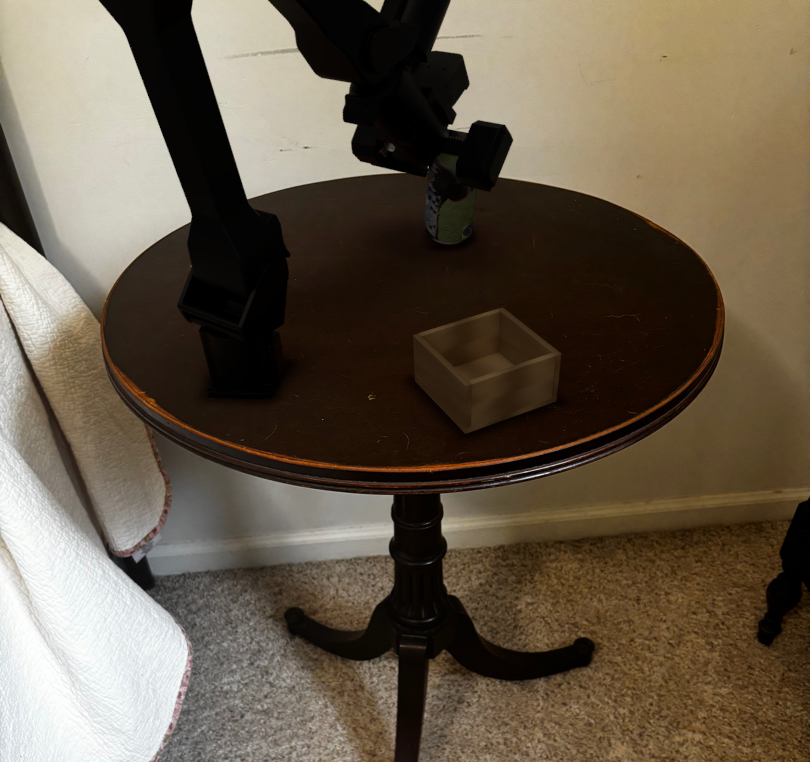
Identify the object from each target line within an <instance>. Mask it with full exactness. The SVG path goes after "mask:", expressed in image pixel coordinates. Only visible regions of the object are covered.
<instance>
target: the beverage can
mask: <svg viewBox="0 0 810 762" xmlns="http://www.w3.org/2000/svg"><path fill="white" fill-rule="evenodd" d="M457 159H458V156H454V155H449V154H444V153H441V154H440V155H439V156H438V157H436V158H435V161H434V163H433V166H432V167H428V168H429V169H428V174H427V182H426V195H425V208H424V220H423V229H424V232H425V234H426V235H427V236H428V237H429V238H431V239H432V240H433V241H435V242H436V243H439V244H442V245H457V244H460V243H461V242H463V241H466V240H468V238H470V236H471V235H472V234H473V229H474V219H475V211H476V205H477V196H478V190H479V189H475V188H471V187H467V186H463V185H462V183H463V182H461V181H459V179H458V178H457V177H456V161H457Z"/></svg>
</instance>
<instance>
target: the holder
mask: <svg viewBox="0 0 810 762" xmlns="http://www.w3.org/2000/svg"><path fill="white" fill-rule="evenodd" d="M412 344H413V365H414V366H413V368H414V382H415V384H417V385H418V387H420V389H422V390H423V392H424V393H425V394H426V395H427V396H429V398H430V399H432V401H433V402H434V403H435V404H436V405H437V406H438V407H439V408H440V410H442V412H444V414H446V415H447V417H449V419H451V421H453V423H454V424H456V426H457V427H458V428H459V429H460V430H461V431H462V432H463V433H464V434H465V435H466V434H469V433H472V432H476V431H478V430H480V429H483V428H486V427H489V426H491V425H495V424H498V423H500V422H503V421H506V420H508V419H509V420H510V419H512V418H514V417H516V416H517V417H518V416H519V415H522V414H525V413H528V412H531V411H534V410H536V409H539V408H541V407H545V406H547V405H550V404H553V403H555V402H557V400H558V391H559V381H560V371H561V361H562V353H561V351H559V350H557V349H556V348H555V347H554V346H552V345H551V344H550V343H548V341H546V340H545V339H544V338H542V337H541V336H540V335H539V334H537V333H536V332H535V331H534V330H532V329H531V328H530V327H529V326H527V325H526V324H524V323H523V322H522V321H521V320H519V319H518V318H517V317H515V316H514V314H512V313H510V312H509V311H508V310H507V309H505V308H504V307H498V308H495V309H492V310H489V311H485V312H483V313H479V314H476V315H473V316H469V317H466V318H464V319H463V318H462V319H460V320H457V321H454V322H450V323H447V324H443V325H441V326H438V327H437V326H436V327H433V328H430V329H428V330H424V331H421V332H418V333H415V334H413V335H412Z"/></svg>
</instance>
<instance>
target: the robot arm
mask: <svg viewBox="0 0 810 762" xmlns="http://www.w3.org/2000/svg"><path fill="white" fill-rule="evenodd" d="M451 1H452V0H383V3H382V5H381V8H380V11H378V10H377V9H376V8H375V7H374V6H372V5H371V4H370V3H368V2H367V1H366V0H267V2H269V3H270V4H271V5H272V6H273V7H274V9H275V10H277V12H278V13H279V14H280V15H281V16H282V17H283V18H284V19H285V20H286V21H287V22H288V24H289V25H290V27H291V28H292V30H293V31H294V38H295V45H296V48H297V50H298V51H299V53H300V54H301V56H302V57H303V59H304V60H305V61H306V63H307V65H308V66H309V67H310V69H311V70H312V72H313V73H314V74H315V75H316V76H318V77H319V78H320V79H325V80H330V81H337V82H342V83H349V88H348V93H345V95H344V105H343V108H342V121H343V123H347V124H352V125H356V127H355V130H354V132H353V135H352V137H351V140H350V146H351V147H350V148H351V154H352V155H353V156H354V157H355V158H356V159H357V160H358V161H359V162H361V163H366V164H369V165H371V166H374V167H378V168H381V169H387V170H391V171H394V172H395V171H396V172H399V173H404V174H408V175H411V176H416V177H421V178H427V177H428V169H429V167H432V166H433V163H434V161H435V158H436V157H438V156H439V155H440V154H441V153H444V154H449V155H454V156H458V159H457V161H456V177H457V178H458V179H459V181H461V182H463V183H462V185H463V186H467V187H471V188H475V189H478V190H479V191H484V192H488V193H490V192H491V191H492V189H493V188H495V186H496V184H497V182H498V179H499V177H500V174H501V172H502V169H503V167H504V165H505V162H506V160H507V157H508V154H509V153H510V150H511V147H512V145H513V142H514V137H513V136H512V133H511V132H510V130H509V128H508V127H507V126H506V124H502V123H499V122H498V123H497V122H493V121H486V120H480V119H477V120H476V121H474V122H471V124H470V126H469V129H468V132H465V131H460V130H455V129H451V128H449V125H450V126H453V125H454V123H455V120H456V118H457V116H458V114H457V112H456V110H455V109H454V108H453V107H454V106H455V105H456V104H457V103H458V101H459V99H460V98H461V96H462V95H463V94H464V93H465V91H467V90H468V89H469V87H470V84H471V83H470V82H471V81H470V78H469V75H468V70H467V68H466V67H467V65H466V61H465V58H464V55H463V54H461V53H458V52H457V53H456V52H451V51H450V52H449V51H442V50H433V48H434V45H435V43H436V40H437V38H438V35H439V33H440V31H441V27H442V25H443V22H444V19H445V17H446V14H447V12H448V9H449V7H450V5H451ZM98 2H99V3H100V4H101V6H102V7H103V8H104V9H105V10H106V11H107V13H108V14H109V15H110V17H111V18H113V20H114V21H115V22H116V23H117V24H118V26H119V27H120V28H121V30H122V32H123V33H124V36H125V38H126V40H127V44H128V46H129V48H130V51H131V54H132V56H133V60H134V62H135V66H136V68H137V71H138V73H139V76H140V78H141V81H142V84H143V87H144V89H145V92H146V94H147V97H148V100H149V102H150V106H151V108H152V110H153V113H154V116H155V119H156V123H157V125H158V127H159V129H160V133H161V135H162V138H163V140H164V143H165V146H166V147H167V151H168V154H169V157H170V159H171V162H172V165H173V167H174V170H175V173H176V175H177V178H178V181H179V184H180V186H181V189H182V192H183V195H184V197H185V200H186V202H187V205H188V208H189V211H190V215H191V219H190V224H189V228H188V233H187V234H188V235H187V239H186V247H187V252H188V255H189V260H190V264H191V265H192V267H191V270H190V271H189V273H188V276H187V277H186V279H185V280H186V281H185V283H184V286H183V289H182V290H181V294H180V297H179V299H178V302H177V303H176V307H177V310H178V311H179V312H180V314H181V315H182V317H183V318H184V320H185V321H186V322H187V323H193V324H195V325H197V326H200V327H199V329H198V334H199V337H200V338H199V339H200V341H201V346H202V350H203V352H204V357H205V361H206V365H207V369H208V374H209V376H210V381H209V383H208V386H207V387H206V394H207V396H210V397H237V398H238V397H239V398H271V397H272V396H273V394H274V392H275V390H276V387H277V385H278V383H279V382H280V381H281V379H282V377H283V373H284V371H285V369H286V359H285V356H284V350H283V346H282V340H281V335H280V334H281V333H280V331H278V330H277V329H279V328H281V327H282V326H283V325H284V324H285V315H286V306H287V305H286V304H287V295H288V283H289V279H290V271H289V264H288V261H287V258H291V253H290V251H289V250H288V248H287V246H286V244H285V240H284V236H283V231H282V223H281V222H280V220H279V218H278V215H277V214H275V213H271V212H267V211H264V210H260V209H257V208H254V207H253V206H252V205H251V203H250V201H249V200H248V197H247V194H246V189H245V188H244V183H243V181H242V178H241V174H240V171H239V168H238V164H237V161H236V158H235V155H234V152H233V147H232V145H231V142H230V138H229V136H228V133H227V129H226V126H225V122H224V119H223V115H222V113H221V109H220V106H219V102H218V100H217V96H216V92H215V90H214V87H213V83H212V80H211V77H210V73H209V70H208V67H207V63H206V61H205V57H204V53H203V51H202V48H201V43H200V41H199V38H198V35H197V31H196V27H195V24H194V21H193V15H192V10H193V3H194V0H98Z"/></svg>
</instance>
